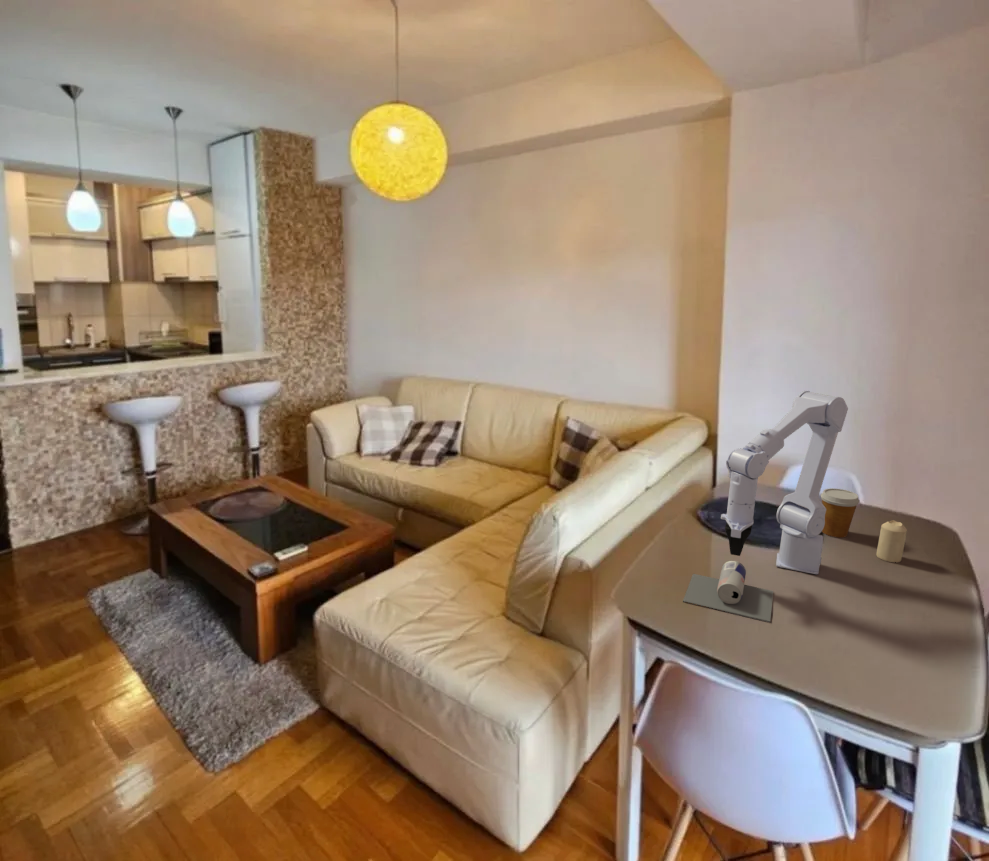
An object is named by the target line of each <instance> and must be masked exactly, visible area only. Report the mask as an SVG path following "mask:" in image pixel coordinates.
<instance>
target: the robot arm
mask: <svg viewBox="0 0 989 861" xmlns="http://www.w3.org/2000/svg"><path fill="white" fill-rule="evenodd" d="M791 407H792V408H790V410H789V411H788V412H787V413H786V414H785V415H784V416H783V418H781V419H780V421H779V422H778V423H776V424H775V425H774V426H773V428H764V429H762V430H761V431H760V432H759V434H757V435H756V436H755V437H754V438H753V439H751V440H750V441H749V442H748V443H747V444H746V445H745V446H743V447H742V448H736V449H734V450H732V451H731V452H730V454H729V455H728V458H727V460H725V465H726V468H727V470H728V477H729V479H730V481H729V490H728V500H727V508H726V509H727V510H726V513H722V514H720V519H721V520H724V521H726V524H725V526H724V531H725V533H726V536H727V538H728V545H729V552H730V555H733V556H737V557H741V555H742V552H743V549H744V546H745V544H746V541H747V539H748V538H749V536H750V535H751V533H752V528H753V525H754V521H755V520H754V513H755V504H756V495H757V488H758V479H759V477H761V476H763V475H764V472H765V470H766V467H767V466H768V465H769V462H770V459H772V458H773V457H774V456H775V455H776V454H778V452H780V451H781V450H782V449H783V448H784V446H785V439H787V438H789V436H791V435H793V434H794V433H795V432H797V430H799V429H800V428H802V427H803V426H804V425H809V427H810V430H811V431H812V433H811V437H810V439H809V440H810V441H809V444H808V447H807V450H806V454H805V457H804V460H803V462H802V463H803V464H802V467H801V470H800V474H799V477H798V480H797V483H796V487H795V490H794V492H791V493H788V494H786V495H785V496H783V499H782V502H781V503H780V505H779V507H778V508H777V511H776V521H777V523H778V524H780V525H779V528H780V529H781V538H780V544H779V551H778V552H777V553H776V562H775V566H776V567H777V568H781V569H787V570H790V571H791V570H792V571H797V572H802V573H807V574H811V575H812V574H813V575H820V574H819V572H820V565H821V563H822V551H823V542H824V535H822V534H821V533H822V530H823V528H824V525H825V513H826V508H825V506H824V505H823V504H822V500H820V498H819V496H820V494H821V488H822V487H823V483H824V481H825V477H826V473H827V471H828V466H829V463H830V461H831V456H832V454H833V451H834V446H835V444H836V440H837V438H838V434H839V432H840V433H841V432H842V429H843V427H844V423H845V421H846V417H847V414H848V410H849V407H848V405H847V403H846V400H845V399H844V398H843V397H842V396H832V395H827V394H822V393H817V392H812V391H810V390H804V391H802V392H800V393H799V394H798V395H797V396H796V397H794V399H793V402H792V406H791Z"/></svg>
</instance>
